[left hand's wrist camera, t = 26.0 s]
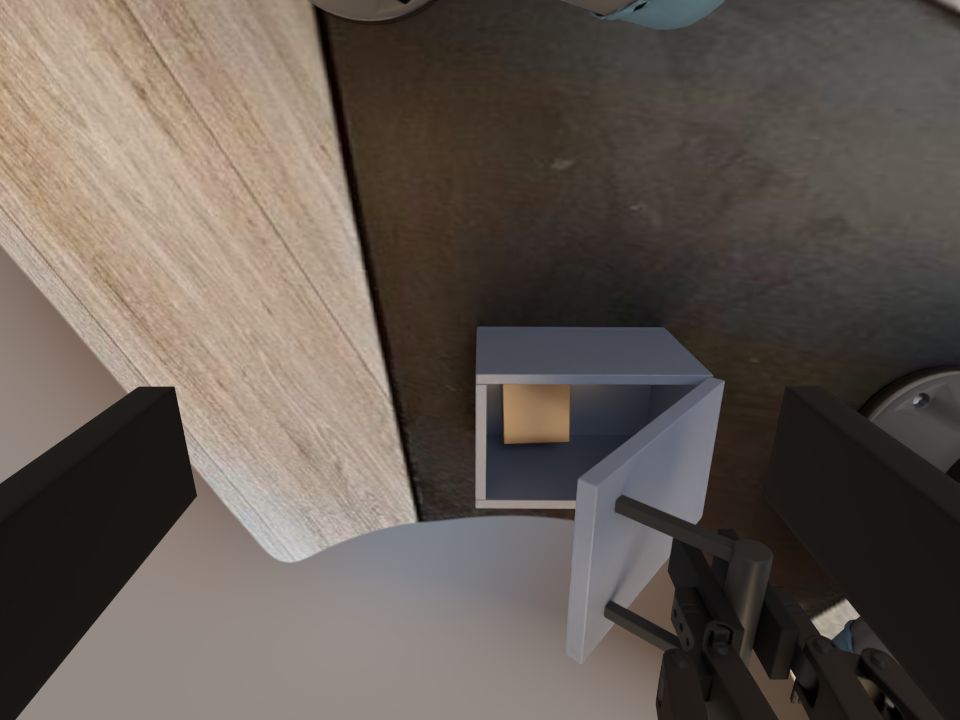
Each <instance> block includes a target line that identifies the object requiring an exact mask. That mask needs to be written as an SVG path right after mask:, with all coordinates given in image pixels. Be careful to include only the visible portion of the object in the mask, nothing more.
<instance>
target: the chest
mask: <svg viewBox="0 0 960 720" xmlns="http://www.w3.org/2000/svg"><path fill="white" fill-rule="evenodd" d="M709 377H711V378H713V375H712V374H711V373H710V372H709V371H708V370H707V369H706V368H705V367H704V366H703V365H702V364H701V363H700V362H699V361H698V360H697V359H696V358H695V357H694V356H693V355H692V354H691V353H690V352H689V351H688V350H687V349H686V348H685V347H683V346H682V345H681V344H680V343H679V342H678V341H677V340H676V339H675V338H674V337H673V336H672V335H671V334H670V333H669V332H668V331H667V330H666V329H665V328H664V327H477V337H476V505H475V507H476V508H535V509H576V495H577V482H578V478H579V477H581V476H582V475H583V474H585V473H586V472H587V471H589V470H590V469H591V468H592V467H594V466H595V465H596V464H598V463H599V462H600V461H601V460H603V459H604V458H605V457H607V456H608V455H609V454H610V453H612V452H613V451H614V450H616V449H617V448H618V447H619V446H621V445H622V444H623V443H625V442H626V441H627V440H629V439H630V438H631V437H632V436H634V435H635V434H636V433H638V432H639V431H640V430H641V429H643V428H644V427H645V426H647V425H648V424H649V423H650V422H652V421H653V420H654V419H656V418H657V417H658V416H660V415H661V414H662V413H663V412H665V411H666V410H667V409H669V408H670V407H671V406H672V405H674V404H675V403H676V402H678V401H679V400H680V399H681V398H683V397H684V396H685V395H687V394H688V393H689V392H690V391H692V390H693V389H694V388H696V387H697V386H698V385H700V384H701V383H702V382H703V381H705V380H706V379H707V378H709ZM501 384H571V395H570V441H569V442H547V443H517V444H504V438H503V426H502V409H501Z"/></svg>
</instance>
